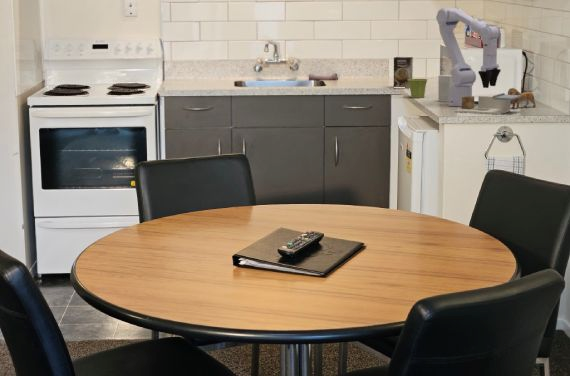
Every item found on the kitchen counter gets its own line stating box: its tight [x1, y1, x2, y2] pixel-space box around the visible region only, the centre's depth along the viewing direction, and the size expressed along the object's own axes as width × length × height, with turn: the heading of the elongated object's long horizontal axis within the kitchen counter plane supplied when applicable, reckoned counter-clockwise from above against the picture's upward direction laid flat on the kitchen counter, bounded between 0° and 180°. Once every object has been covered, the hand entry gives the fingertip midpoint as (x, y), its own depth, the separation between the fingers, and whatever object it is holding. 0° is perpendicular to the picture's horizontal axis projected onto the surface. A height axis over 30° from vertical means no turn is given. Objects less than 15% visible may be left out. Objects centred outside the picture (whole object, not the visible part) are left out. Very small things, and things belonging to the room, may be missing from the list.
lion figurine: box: [507, 87, 536, 110], centre depth 413 cm, size 15×5×9 cm, turn 116°
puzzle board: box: [454, 95, 512, 115], centre depth 405 cm, size 20×12×6 cm, turn 56°
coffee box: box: [393, 56, 414, 88], centre depth 502 cm, size 9×6×16 cm
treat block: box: [461, 95, 475, 109], centre depth 408 cm, size 4×4×5 cm
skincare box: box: [437, 74, 454, 103], centre depth 442 cm, size 6×4×12 cm
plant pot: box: [408, 78, 428, 99], centre depth 460 cm, size 9×9×9 cm
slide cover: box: [492, 92, 521, 100], centre depth 398 cm, size 8×11×1 cm
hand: (489, 86), depth 412 cm, fingers open, 7 cm apart
